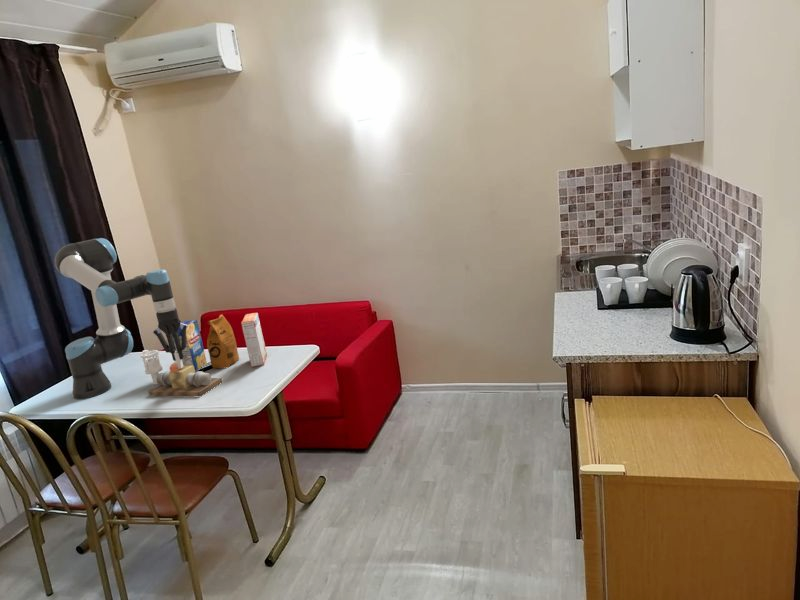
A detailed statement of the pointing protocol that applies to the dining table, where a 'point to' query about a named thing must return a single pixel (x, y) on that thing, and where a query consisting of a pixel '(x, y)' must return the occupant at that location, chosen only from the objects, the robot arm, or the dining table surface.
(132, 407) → the dining table surface
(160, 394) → the valve stand
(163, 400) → the dining table surface
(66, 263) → the robot arm
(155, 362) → the white upright piece
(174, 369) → the valve lever
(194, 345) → the beverage box
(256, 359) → the cracker box
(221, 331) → the coffee package
